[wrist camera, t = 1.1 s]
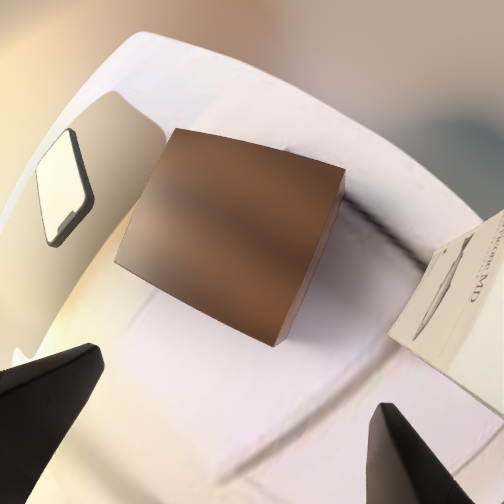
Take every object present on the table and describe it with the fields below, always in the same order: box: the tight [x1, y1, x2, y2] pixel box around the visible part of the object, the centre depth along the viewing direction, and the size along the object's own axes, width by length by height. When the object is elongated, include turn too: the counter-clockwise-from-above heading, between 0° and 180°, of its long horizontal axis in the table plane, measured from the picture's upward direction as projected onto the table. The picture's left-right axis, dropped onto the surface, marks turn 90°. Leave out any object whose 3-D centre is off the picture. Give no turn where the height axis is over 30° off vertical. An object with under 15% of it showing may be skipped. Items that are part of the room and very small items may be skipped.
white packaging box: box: [387, 210, 504, 419], centre depth 12 cm, size 7×7×13 cm
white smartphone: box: [36, 128, 94, 248], centre depth 31 cm, size 9×2×16 cm
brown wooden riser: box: [114, 128, 345, 347], centre depth 21 cm, size 12×14×4 cm
